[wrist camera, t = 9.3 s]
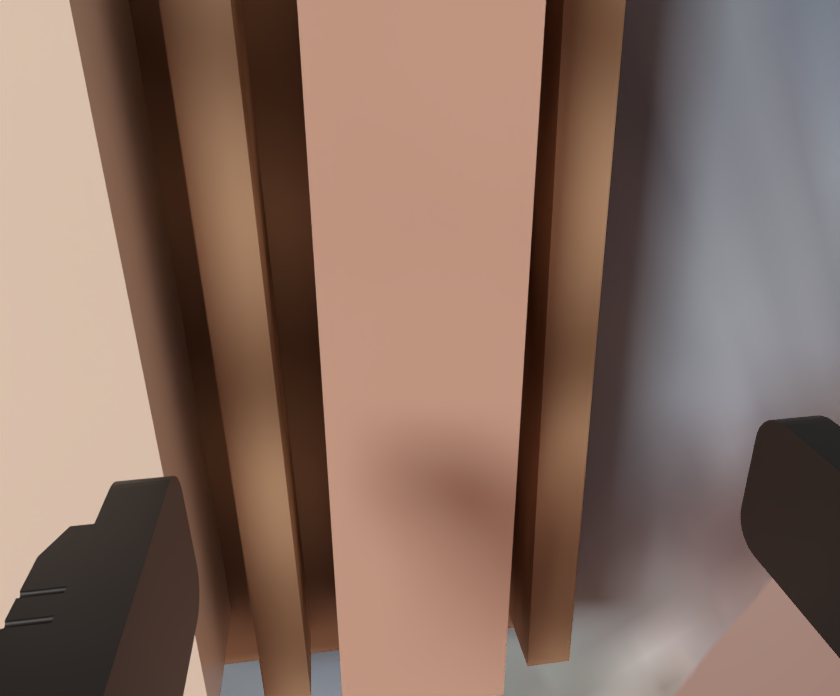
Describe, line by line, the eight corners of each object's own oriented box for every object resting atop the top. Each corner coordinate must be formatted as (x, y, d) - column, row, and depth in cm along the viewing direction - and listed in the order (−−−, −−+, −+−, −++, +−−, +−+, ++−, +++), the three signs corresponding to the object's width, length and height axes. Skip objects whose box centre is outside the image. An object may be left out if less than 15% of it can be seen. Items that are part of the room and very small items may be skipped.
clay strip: (291, -125, 14) (284, -185, 10) (493, -120, 14) (556, -175, 11) (337, 597, 21) (343, 714, 17) (470, 583, 21) (503, 694, 18)
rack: (-254, -241, 13) (-448, -338, 10) (575, -222, 15) (651, -297, 11) (37, 657, 22) (-12, 767, 18) (530, 596, 24) (566, 686, 20)
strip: (-123, -123, 13) (-295, -189, 9) (108, -123, 13) (33, -184, 10) (87, 628, 20) (37, 759, 16) (231, 611, 20) (214, 734, 17)
